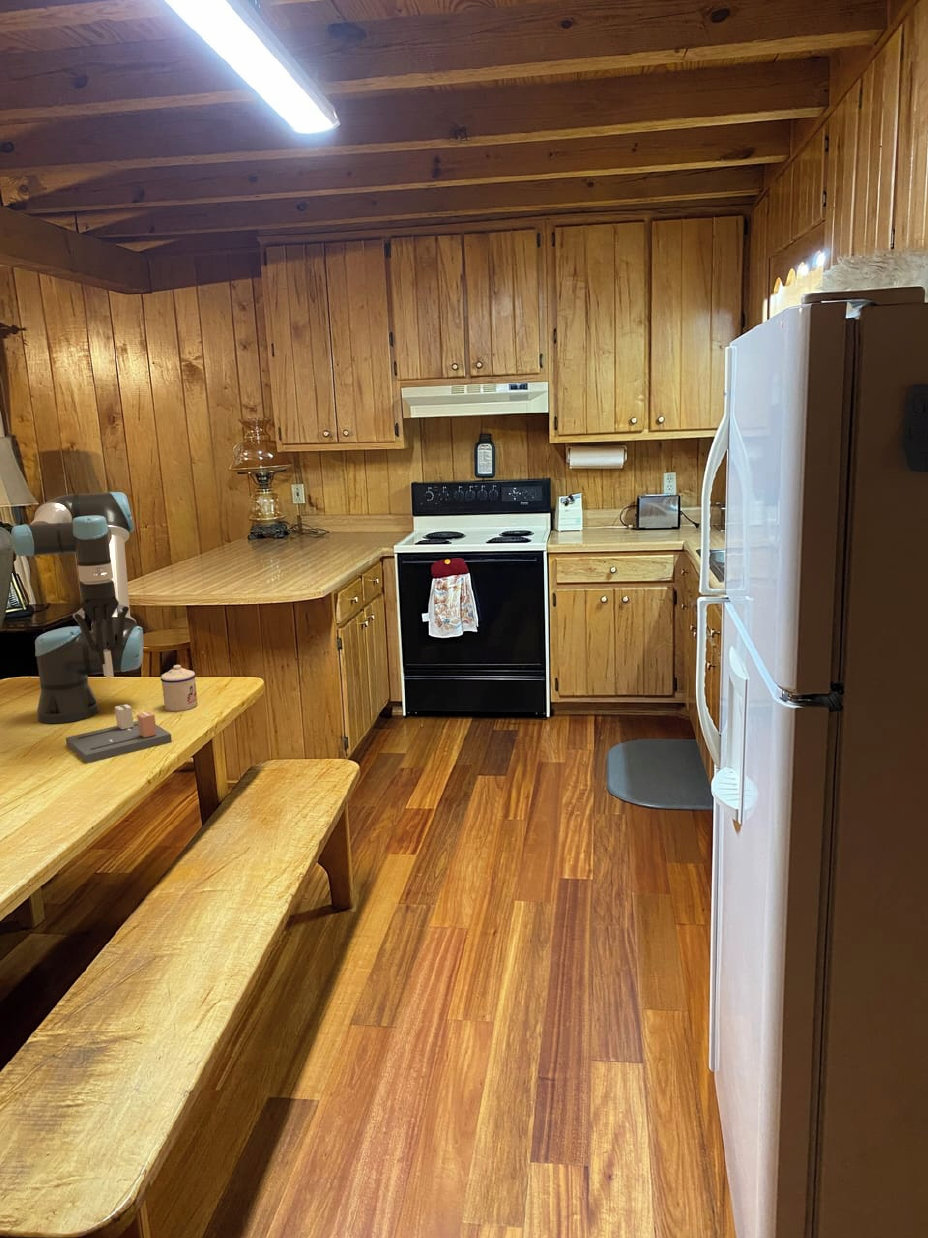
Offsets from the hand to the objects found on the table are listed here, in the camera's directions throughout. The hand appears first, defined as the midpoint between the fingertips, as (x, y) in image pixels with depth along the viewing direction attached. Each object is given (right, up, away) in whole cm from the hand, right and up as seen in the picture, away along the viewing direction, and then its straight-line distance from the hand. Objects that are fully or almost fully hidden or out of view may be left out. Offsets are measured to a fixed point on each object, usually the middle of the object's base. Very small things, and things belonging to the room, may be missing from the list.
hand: (108, 676), depth 219 cm
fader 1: (+2, -13, +4) cm, 14 cm away
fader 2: (+10, -14, -2) cm, 17 cm away
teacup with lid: (+9, -10, +28) cm, 31 cm away
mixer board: (+3, -16, -1) cm, 17 cm away
